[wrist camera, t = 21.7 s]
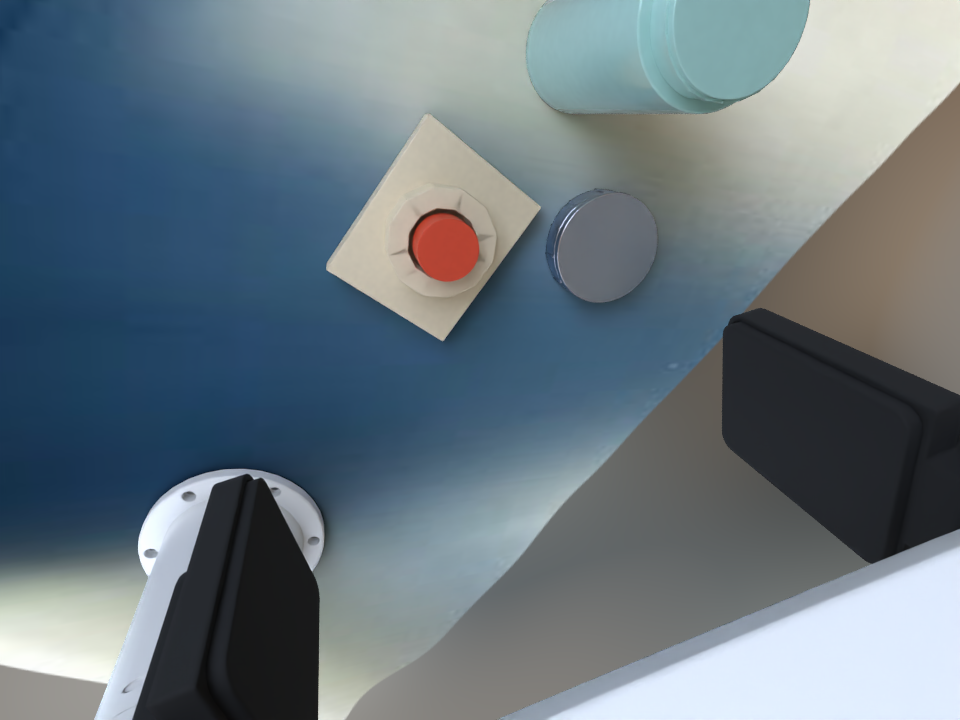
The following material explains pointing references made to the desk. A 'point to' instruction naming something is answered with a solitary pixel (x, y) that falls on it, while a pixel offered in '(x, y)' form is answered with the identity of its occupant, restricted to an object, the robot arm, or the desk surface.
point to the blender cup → (659, 53)
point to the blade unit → (602, 245)
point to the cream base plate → (407, 202)
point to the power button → (445, 247)
